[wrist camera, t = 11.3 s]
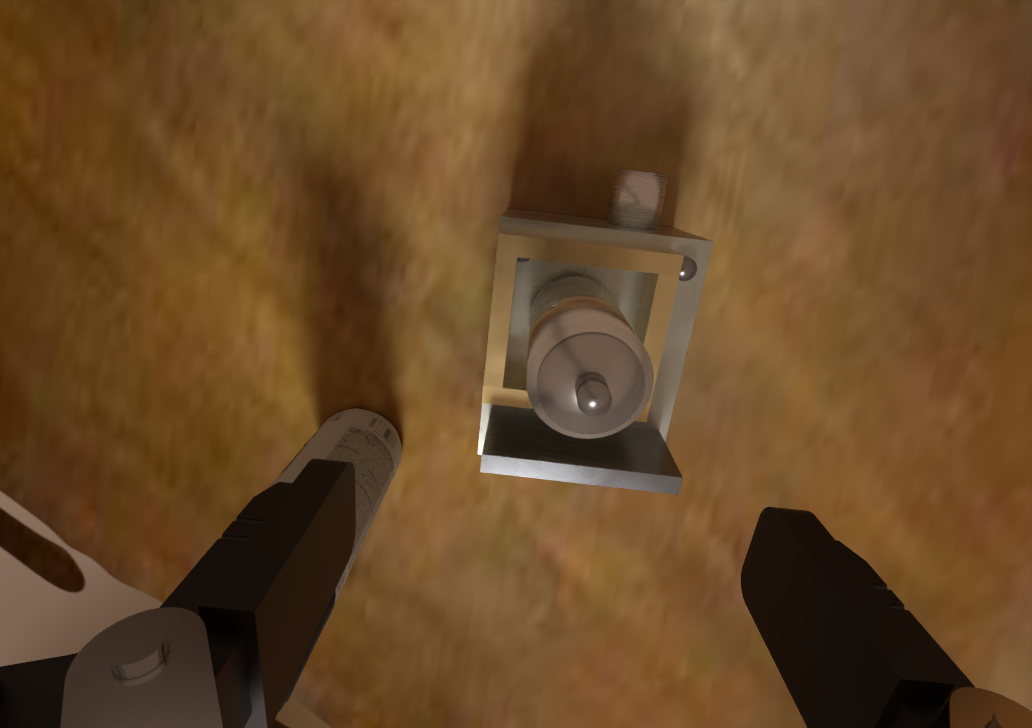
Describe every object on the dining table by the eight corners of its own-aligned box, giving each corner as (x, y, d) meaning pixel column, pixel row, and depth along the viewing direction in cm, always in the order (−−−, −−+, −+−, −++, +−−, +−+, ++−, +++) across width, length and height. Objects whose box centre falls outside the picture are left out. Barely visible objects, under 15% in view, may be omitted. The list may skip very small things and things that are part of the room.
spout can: (534, 271, 27) (533, 327, 17) (624, 281, 27) (678, 342, 17) (524, 356, 28) (519, 454, 18) (609, 365, 28) (650, 467, 18)
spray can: (316, 403, 39) (110, 614, 20) (403, 406, 39) (279, 622, 20) (325, 478, 41) (148, 730, 22) (408, 481, 41) (300, 738, 22)
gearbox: (513, 159, 32) (500, 146, 20) (683, 179, 32) (774, 179, 20) (488, 400, 38) (467, 503, 26) (632, 416, 38) (679, 528, 26)
